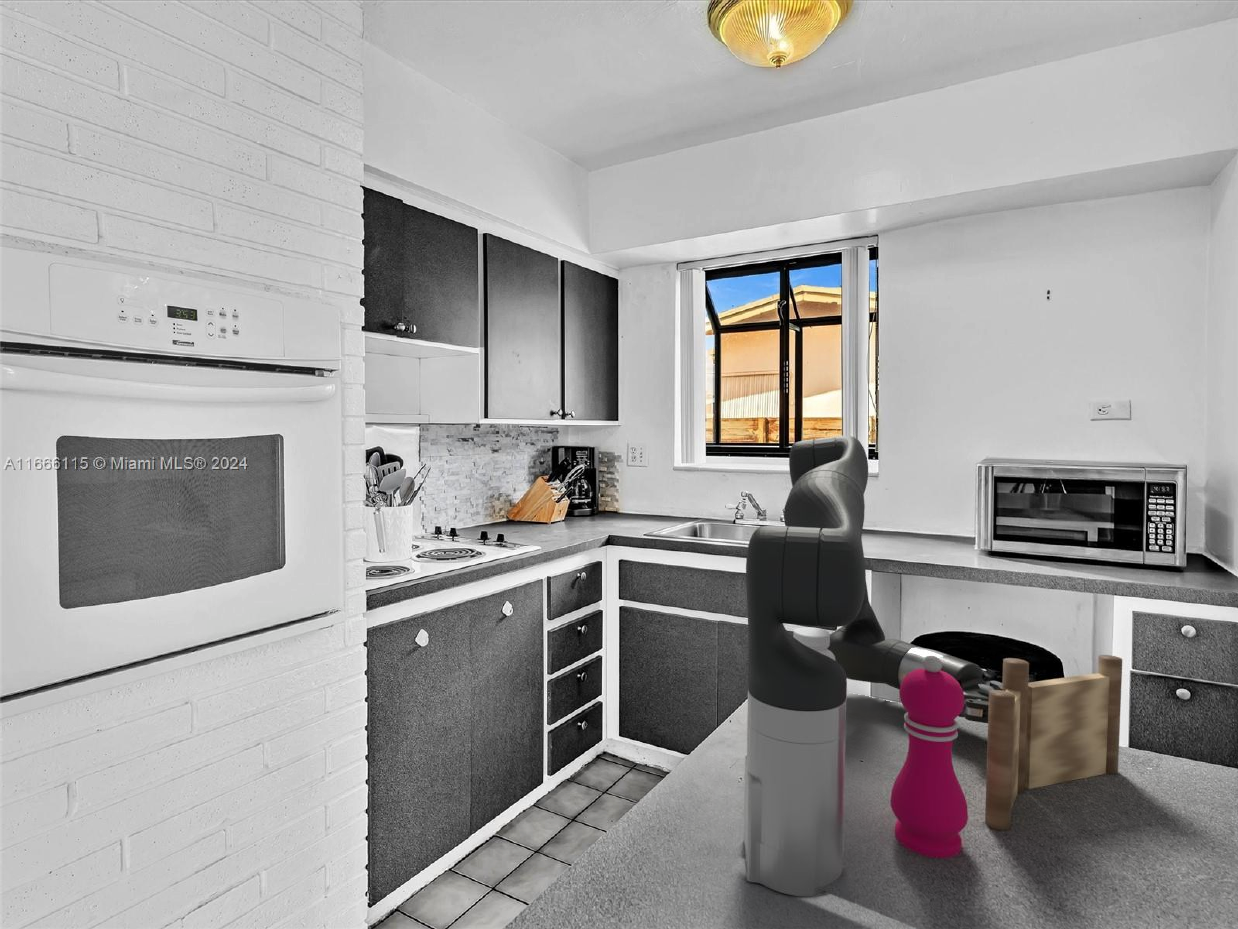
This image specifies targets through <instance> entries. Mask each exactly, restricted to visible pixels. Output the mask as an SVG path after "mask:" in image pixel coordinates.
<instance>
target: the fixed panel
mask: <svg viewBox="0 0 1238 929" xmlns="http://www.w3.org/2000/svg"><path fill="white" fill-rule="evenodd" d="M1002 661H1003V662H1002V682H1001V683H1002V691H1001V690H992V691H989V711H988V723H987V745H986V746H987V748H986V749H987V751H986V775H985V776H986V778H985V779H986V781H985V782H986V783H985V812H984V813H985V815H984V823H985V824H986V826H988V827H990V828H991V829H994V830H997V831H1000V832H1001V831H1002V832H1003V831H1004V832H1006V831H1010V830H1011V828H1012V826H1011V825H1012V810H1013V807H1014V805H1015V801H1016V799H1017V797H1018V795H1023V794H1024V793H1025V792H1026V791H1025V790H1026V787H1025V769H1026V739H1027V709H1028V683H1029V673H1030V671H1029V670H1030V662H1028V661H1026V660H1025V659H1021V658H1013V657H1008V658H1007V657H1006V658H1003V659H1002Z"/></svg>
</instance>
